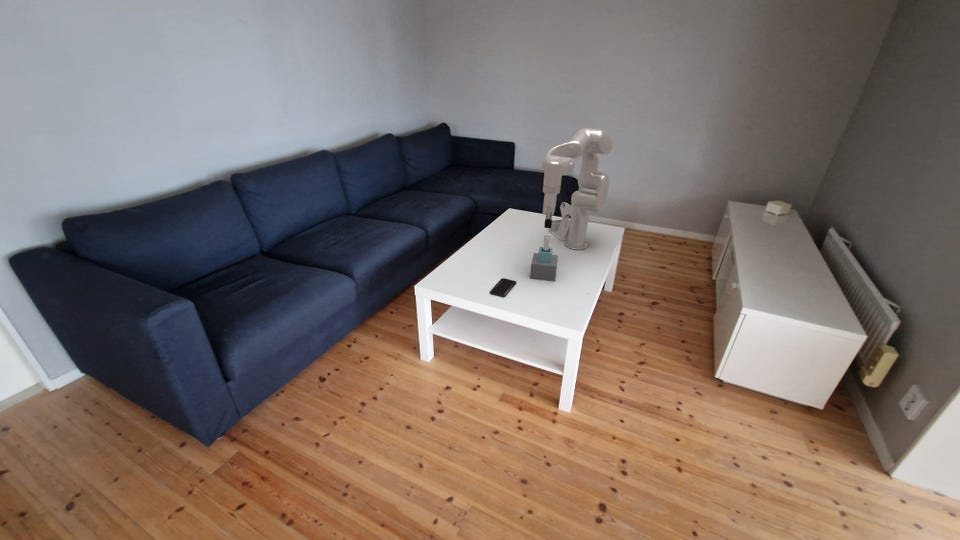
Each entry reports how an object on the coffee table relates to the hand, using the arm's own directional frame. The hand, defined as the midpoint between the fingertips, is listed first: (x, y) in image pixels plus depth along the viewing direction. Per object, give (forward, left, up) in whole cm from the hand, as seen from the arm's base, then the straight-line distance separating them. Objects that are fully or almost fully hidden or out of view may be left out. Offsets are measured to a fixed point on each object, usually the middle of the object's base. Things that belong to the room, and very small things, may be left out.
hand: (547, 227), depth 181 cm
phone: (+18, -17, -25) cm, 35 cm away
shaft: (0, 0, -19) cm, 19 cm away
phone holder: (-52, +6, -25) cm, 58 cm away
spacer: (0, 0, -17) cm, 17 cm away
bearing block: (0, 0, -25) cm, 25 cm away
